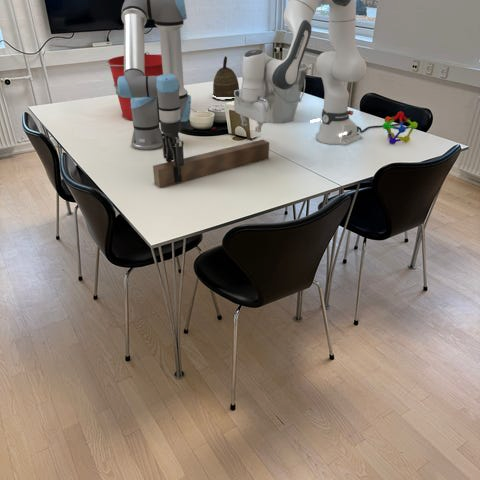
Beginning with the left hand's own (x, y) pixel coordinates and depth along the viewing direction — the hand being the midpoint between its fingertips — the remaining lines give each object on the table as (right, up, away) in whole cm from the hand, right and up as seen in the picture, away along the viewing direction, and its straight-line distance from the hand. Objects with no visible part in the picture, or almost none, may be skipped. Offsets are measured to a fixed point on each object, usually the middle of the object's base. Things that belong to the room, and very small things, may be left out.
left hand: (175, 179), depth 172 cm
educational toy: (+100, +23, +38) cm, 109 cm away
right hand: (+30, +23, +11) cm, 39 cm away
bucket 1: (-28, +47, +76) cm, 94 cm away
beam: (+15, +5, +9) cm, 19 cm away
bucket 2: (+46, +43, +71) cm, 95 cm away
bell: (+17, +67, +109) cm, 129 cm away
